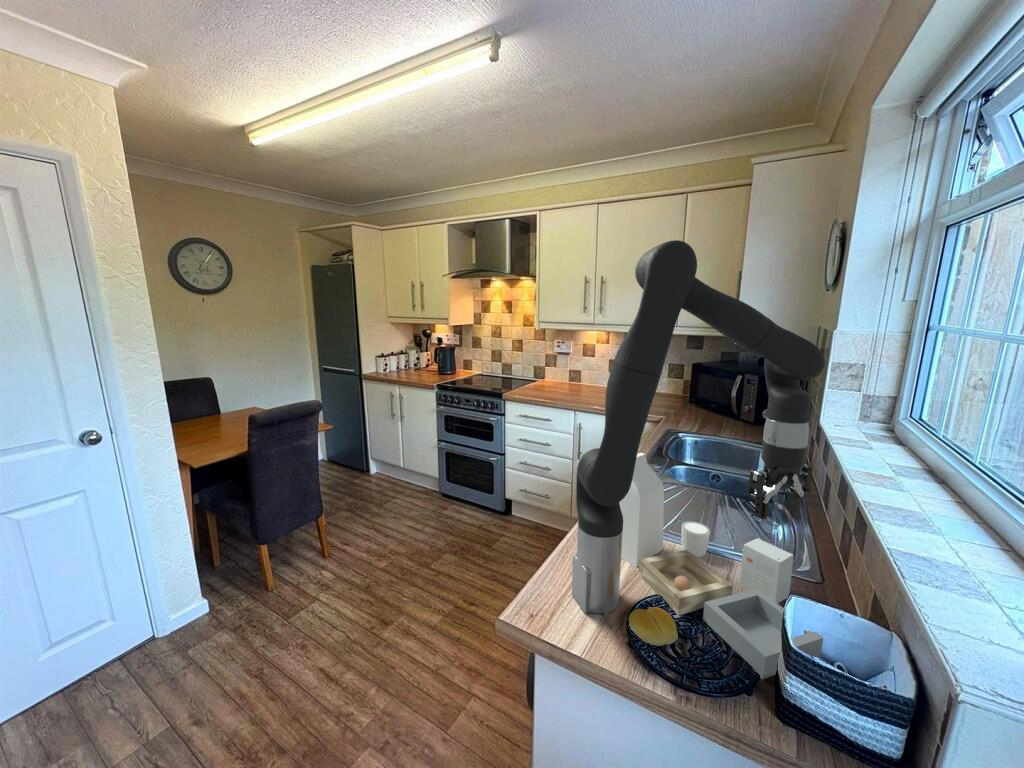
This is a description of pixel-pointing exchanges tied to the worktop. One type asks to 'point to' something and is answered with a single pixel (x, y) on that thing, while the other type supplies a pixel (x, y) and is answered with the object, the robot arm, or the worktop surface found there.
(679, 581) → the ball
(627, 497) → the milk
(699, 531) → the white cylinder
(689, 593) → the birch box
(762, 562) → the small box
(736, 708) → the worktop surface
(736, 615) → the grey tub
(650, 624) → the bread roll
